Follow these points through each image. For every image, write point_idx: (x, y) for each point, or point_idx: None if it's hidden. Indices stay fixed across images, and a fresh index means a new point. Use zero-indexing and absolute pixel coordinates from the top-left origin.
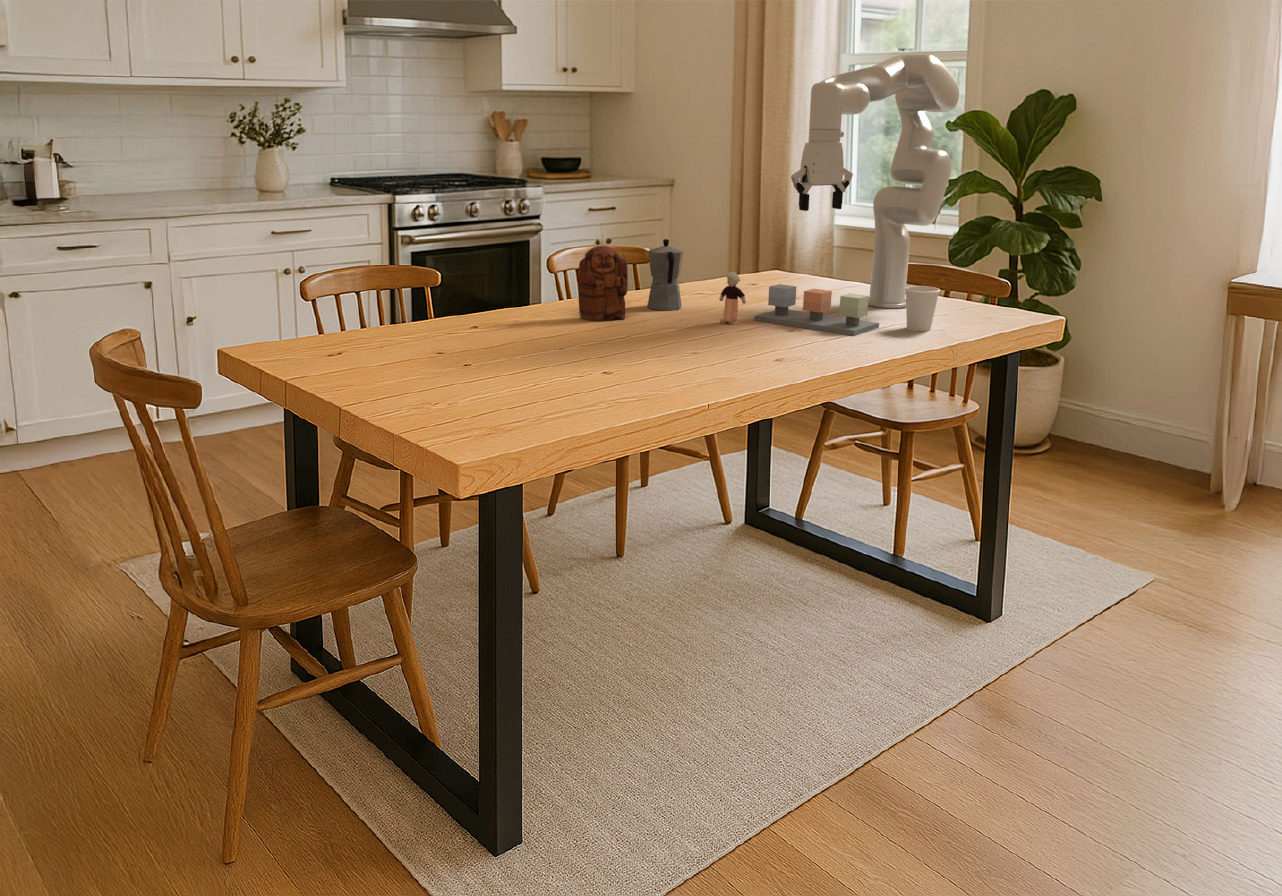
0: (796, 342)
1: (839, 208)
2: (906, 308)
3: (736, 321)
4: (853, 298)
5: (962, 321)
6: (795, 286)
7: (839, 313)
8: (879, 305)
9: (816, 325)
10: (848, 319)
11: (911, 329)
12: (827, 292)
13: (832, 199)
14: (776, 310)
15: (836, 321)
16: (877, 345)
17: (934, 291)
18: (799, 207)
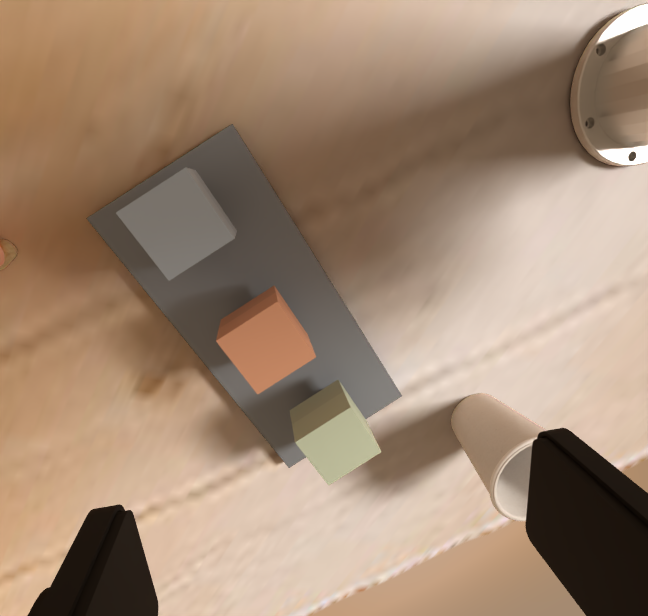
0: (109, 503)
1: (534, 534)
2: (474, 436)
3: (6, 258)
4: (318, 471)
5: (626, 359)
6: (229, 239)
7: (290, 414)
8: (581, 137)
9: (226, 390)
10: None
11: (452, 428)
12: (290, 373)
13: (602, 496)
14: None
15: None
16: (285, 546)
17: None
18: (85, 527)
